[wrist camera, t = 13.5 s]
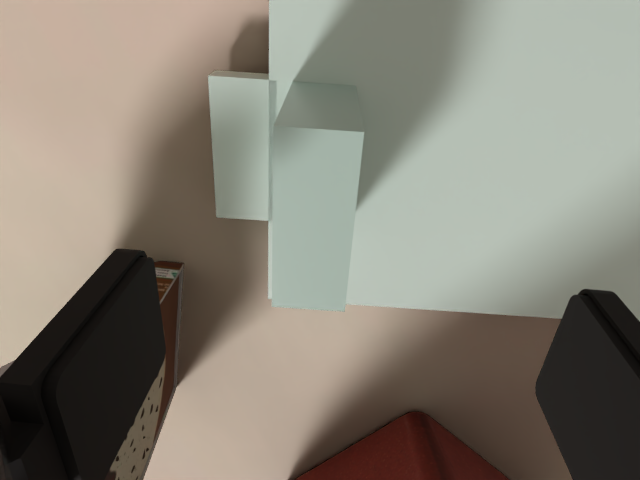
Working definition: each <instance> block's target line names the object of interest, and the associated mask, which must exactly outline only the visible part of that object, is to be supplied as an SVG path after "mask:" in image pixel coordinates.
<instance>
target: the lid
mask: <svg viewBox="0 0 640 480" xmlns="http://www.w3.org/2000/svg"><path fill="white" fill-rule="evenodd" d="M208 86H209V103H210V119H211V136H212V153H213V170H214V187H215V203H216V217H218V218H232V219H247V220H262V221H268V299H272V307H283V308H298V309H313V310H327V311H342V312H345V304H350V305H364V306H379V307H394V308H409V309H424V310H438V311H453V312H468V313H483V314H498V315H512V316H527V317H542V318H557V319H562V317H563V314H564V312H565V309H566V307H567V304H568V302H569V300H570V298H571V297H572V296H573V295H578V293H579V292H580V291H581V290H583V289H593V290H605V291H612V292H614V293H615V294H617V296H618V297H619V298H620V299H621V300H622V301H623V303H624V304H625V305H626V306H627V307H628V308H629V310H630V311H631V312H632V313H633V314H634V316H635V317H636V318H637V319H638V320H639V321H640V0H269V74H265V73H250V72H236V71H221V70H215V71H213V72H212V73H211V74H209V75H208Z"/></svg>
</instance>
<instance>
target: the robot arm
mask: <svg viewBox="0 0 640 480" xmlns="http://www.w3.org/2000/svg"><path fill="white" fill-rule="evenodd" d="M165 354H166V345H165V337H164V330H163V323H162V315H161V308H160V301H159V293H158V286H157V279H156V271H155V264H154V261H153V259H152V258H148V257H147V255H146V253H145V252H144V251H141V250H129V249H116V250H115V251H114V252H113V253H112V254H111V255H110V256H109V257H108V258H107V259H106V260H105V262H104V263H103V264H102V265H101V266H100V267H99V268H98V269H97V270H96V271H95V273H94V274H93V275H92V276H91V277H90V278H89V279H88V280H87V281H86V283H85V284H84V285H83V286H82V287H81V288H80V289H79V290H78V291H77V292H76V294H75V295H74V296H73V297H72V298H71V299H70V300H69V301H68V302H67V304H66V305H65V306H64V307H63V308H62V309H61V310H60V311H59V312H58V314H57V315H56V316H55V317H54V318H53V319H52V320H51V321H50V322H49V323H48V325H47V326H46V327H45V328H44V329H43V330H42V331H41V332H40V333H39V335H38V336H37V337H36V338H35V339H34V340H33V341H32V342H31V343H30V344H29V346H28V347H27V348H26V349H25V350H24V351H23V352H22V353H21V354H20V356H19V357H18V358H17V359H16V360H15V361H14V362H13V363H12V364H11V365H10V367H9V368H8V369H7V370H6V371H5V372H4V373H3V374H2V375H1V377H0V480H105V478H106V476H107V474H108V472H109V470H110V468H111V466H112V464H113V462H114V460H115V458H116V456H117V454H118V452H119V450H120V448H121V446H122V444H123V442H124V440H125V438H126V436H127V434H128V432H129V430H130V428H131V426H132V424H133V422H134V420H135V418H136V416H137V414H138V412H139V410H140V408H141V406H142V404H143V402H144V400H145V398H146V396H147V394H148V392H149V390H150V388H151V386H152V384H153V383H154V381H155V379H156V377H157V375H158V373H159V371H160V369H161V367H162V365H163V362H164V359H165ZM535 389H536V396H537V399H538V402H539V404H540V406H541V408H542V411H543V413H544V415H545V417H546V420H547V422H548V424H549V426H550V429H551V431H552V433H553V435H554V438H555V440H556V442H557V445H558V447H559V449H560V451H561V454H562V456H563V458H564V460H565V463H566V465H567V467H568V469H569V472H570V474H571V476H572V478H573V480H640V321H639V320H638V319H637V318H636V317H635V316H634V314H633V313H632V312H631V311H630V310H629V308H628V307H627V306H626V305H625V304H624V303H623V301H622V300H621V299H620V298H619V297H618V296H617V294H615V293H614V292H612V291H605V290H593V289H583V290H581V291H580V292H579V293H578V295H573V296H572V297H571V298H570V300H569V302H568V304H567V307H566V309H565V312H564V314H563V317H562V319H561V322H560V324H559V327H558V329H557V332H556V334H555V337H554V339H553V342H552V344H551V347H550V349H549V351H548V354H547V356H546V359H545V361H544V364H543V366H542V369H541V371H540V374H539V376H538V379H537V382H536V387H535Z"/></svg>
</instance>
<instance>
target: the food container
mask: <svg viewBox="0 0 640 480" xmlns="http://www.w3.org/2000/svg"><path fill="white" fill-rule="evenodd" d="M154 264H155V271H156V279H157V286H158V293H159V301H160V308H161V315H162V323H163V330H164V337H165V345H166V354H165V359H164V362H163V365H162V367H161V369H160V371H159V373H158V375H157V377H156V379H155V381H154V383H153V384H152V386H151V388H150V390H149V392H148V394H147V396H146V398H145V400H144V402H143V404H142V406H141V408H140V410H139V412H138V414H137V416H136V418H135V420H134V422H133V424H132V426H131V428H130V430H129V432H128V434H127V436H126V438H125V440H124V442H123V444H122V446H121V448H120V450H119V452H118V454H117V456H116V458H115V460H114V462H113V464H112V466H111V468H110V470H109V472H108V474H107V476H106V478H105V480H143V478H144V476H145V473H146V470H147V467H148V465H149V462H150V459H151V456H152V454H153V451H154V448H155V445H156V443H157V440H158V437H159V434H160V432H161V429H162V426H163V423H164V420H165V418H166V415H167V412H168V409H169V407H170V404H171V401H172V398H173V396H174V393H175V390H176V387H177V372H178V354H179V337H180V320H181V303H182V286H183V269H184V263H177V262H167V261H157V262H154ZM13 362H14V361H13ZM13 362H10V363H8V364H6V365H4V366H2V367H1V368H0V377H1V375H2V374H3V373H4V372H5V371H6V370H7V369H8V368H9V367H10V365H11V364H12V363H13Z"/></svg>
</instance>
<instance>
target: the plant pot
mask: <svg viewBox="0 0 640 480" xmlns="http://www.w3.org/2000/svg"><path fill="white" fill-rule="evenodd" d="M295 480H509V479H508V478H507V477H506V476H504V475H503V474H502V473H501V472H499V471H498V470H497V469H496V468H494V467H493V466H492V465H491V464H489V463H488V462H487V461H486V460H484V459H483V458H482V457H480V456H479V455H478V454H477V453H475V452H474V451H473V450H472V449H470V448H469V447H468V446H467V445H465V444H464V443H463V442H461V441H460V440H459V439H458V438H456V437H455V436H454V435H453V434H451V433H450V432H449V431H448V430H446V429H445V428H444V427H442V426H441V425H440V424H439V423H437V422H436V421H435V420H434V419H432V418H431V417H430V416H428V415H426V414H424V413H421V412H410V413H407V414H405V415H403V416H401V417H399V418H398V419H396V420H394V421H393V422H391V423H390V424H388V425H386V426H385V427H383V428H381V429H379V430H378V431H376V432H374V433H373V434H371V435H369V436H367V437H366V438H364V439H362V440H361V441H359V442H357V443H356V444H354V445H352V446H351V447H349V448H347V449H346V450H344V451H342V452H341V453H339V454H337V455H336V456H334V457H332V458H331V459H329V460H327V461H325V462H324V463H322V464H320V465H319V466H317V467H315V468H314V469H312V470H310V471H309V472H307V473H305V474H303V475H302V476H300V477H298V478H297V479H295Z"/></svg>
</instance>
